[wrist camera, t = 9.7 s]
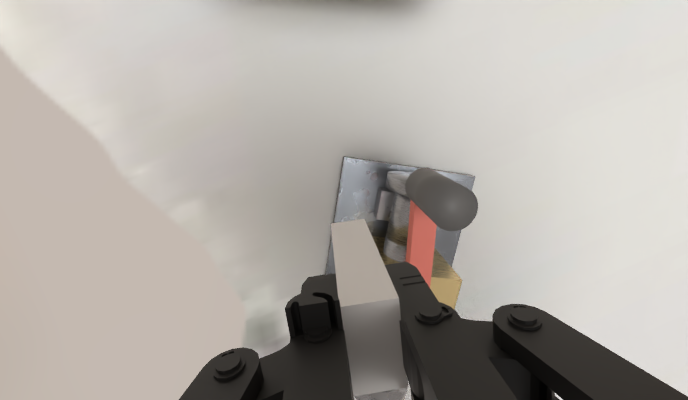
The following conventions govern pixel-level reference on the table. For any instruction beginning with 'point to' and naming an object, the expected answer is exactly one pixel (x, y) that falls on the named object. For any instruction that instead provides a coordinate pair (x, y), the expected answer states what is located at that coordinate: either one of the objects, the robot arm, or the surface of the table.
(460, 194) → the lever
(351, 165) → the valve assembly
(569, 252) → the table surface
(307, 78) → the table surface
